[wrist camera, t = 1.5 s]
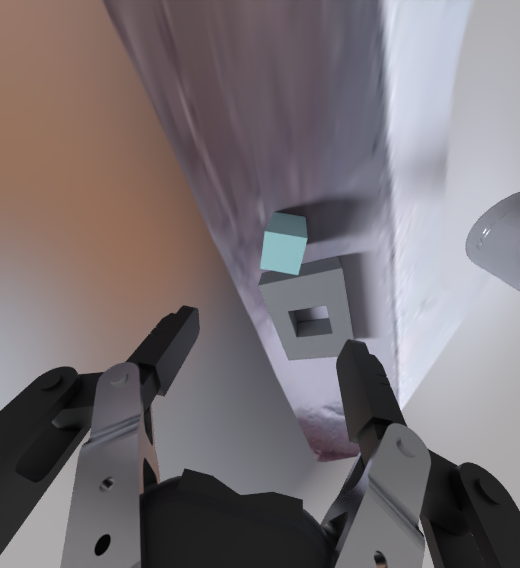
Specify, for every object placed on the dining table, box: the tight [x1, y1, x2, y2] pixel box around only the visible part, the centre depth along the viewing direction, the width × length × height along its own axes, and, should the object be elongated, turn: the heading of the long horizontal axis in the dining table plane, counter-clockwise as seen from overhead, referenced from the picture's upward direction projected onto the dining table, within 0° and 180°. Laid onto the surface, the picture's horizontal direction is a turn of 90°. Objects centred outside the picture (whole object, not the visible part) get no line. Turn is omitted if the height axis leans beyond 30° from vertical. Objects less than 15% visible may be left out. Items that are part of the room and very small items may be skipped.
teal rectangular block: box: [260, 212, 308, 275], centre depth 23 cm, size 4×4×8 cm
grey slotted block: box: [258, 256, 354, 360], centre depth 31 cm, size 16×11×4 cm
